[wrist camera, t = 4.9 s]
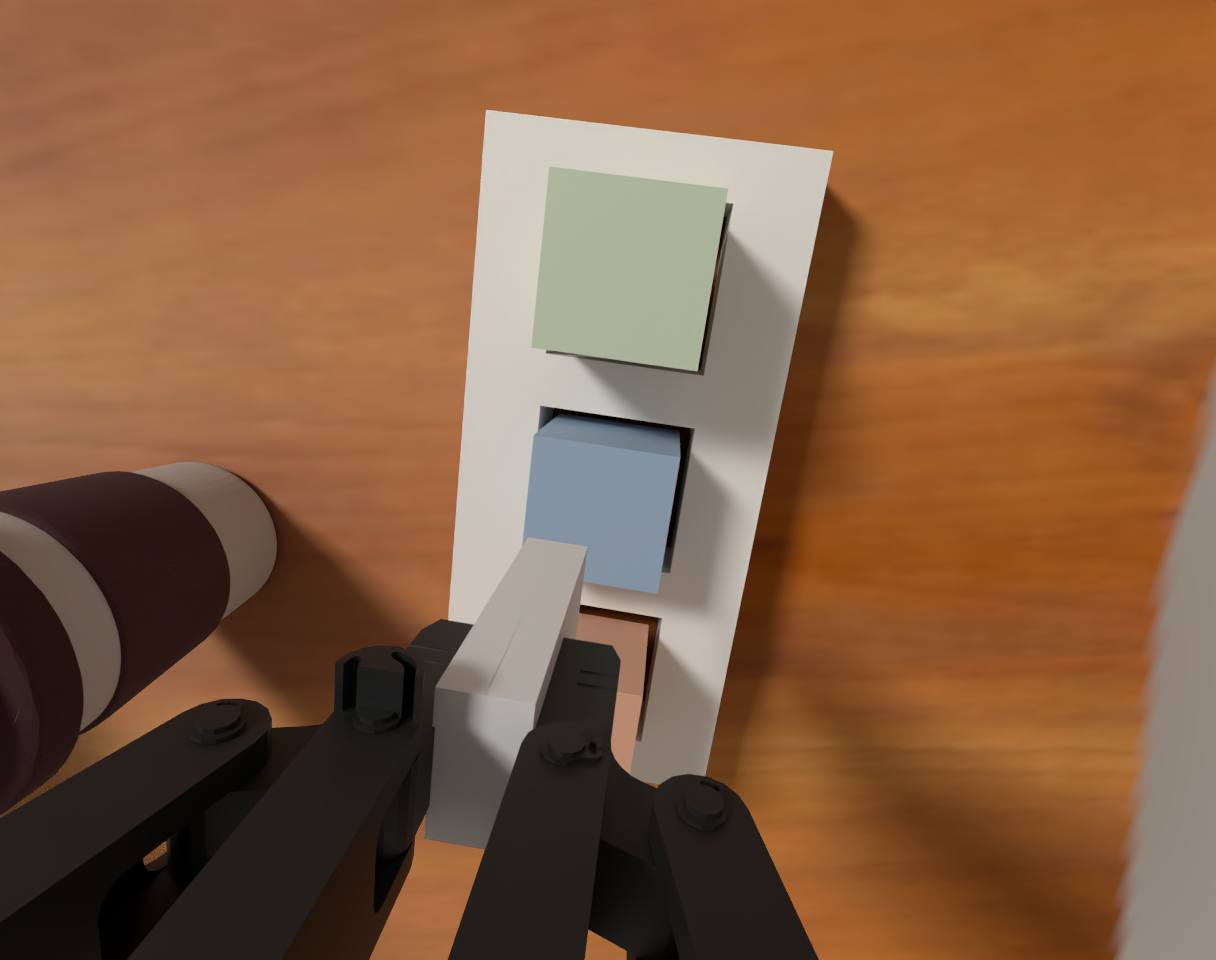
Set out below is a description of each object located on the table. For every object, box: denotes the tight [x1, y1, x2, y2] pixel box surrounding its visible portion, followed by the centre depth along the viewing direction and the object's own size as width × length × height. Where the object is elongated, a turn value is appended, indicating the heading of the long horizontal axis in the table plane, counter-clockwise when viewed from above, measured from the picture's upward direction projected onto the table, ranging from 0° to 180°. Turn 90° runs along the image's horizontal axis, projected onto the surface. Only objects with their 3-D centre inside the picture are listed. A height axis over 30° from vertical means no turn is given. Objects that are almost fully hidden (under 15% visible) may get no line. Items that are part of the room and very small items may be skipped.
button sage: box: [531, 167, 728, 371], centre depth 21 cm, size 5×5×5 cm
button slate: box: [522, 413, 680, 594], centre depth 24 cm, size 5×5×5 cm
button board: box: [448, 110, 833, 785], centre depth 26 cm, size 12×26×3 cm, turn 172°
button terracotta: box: [576, 613, 649, 774], centre depth 25 cm, size 5×5×5 cm
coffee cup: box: [0, 462, 277, 815], centre depth 23 cm, size 10×10×15 cm
